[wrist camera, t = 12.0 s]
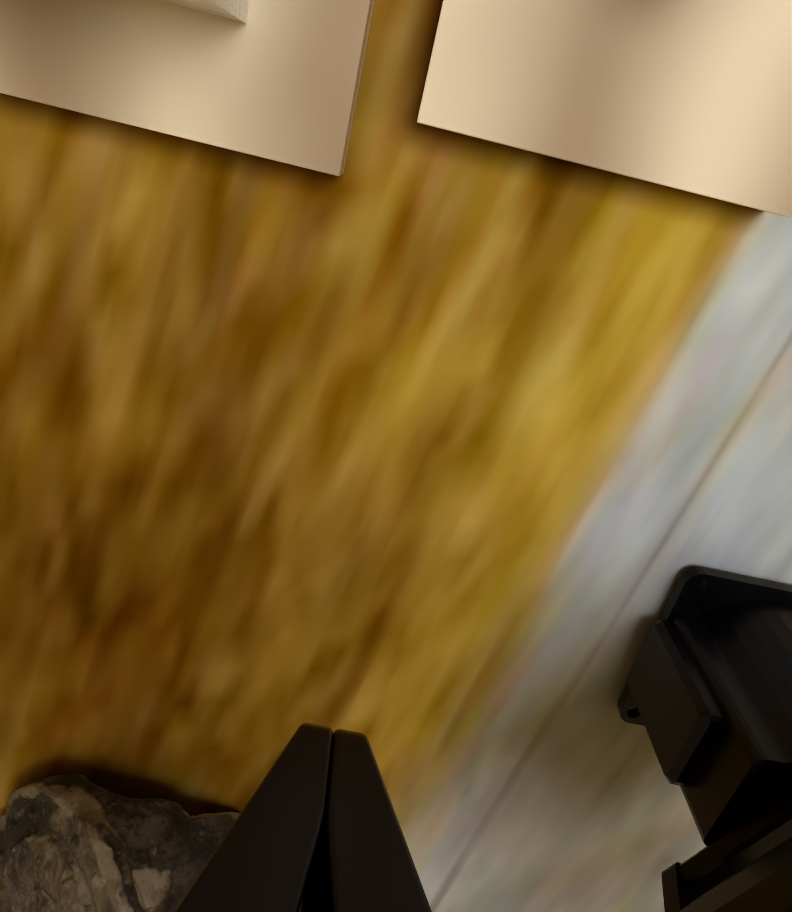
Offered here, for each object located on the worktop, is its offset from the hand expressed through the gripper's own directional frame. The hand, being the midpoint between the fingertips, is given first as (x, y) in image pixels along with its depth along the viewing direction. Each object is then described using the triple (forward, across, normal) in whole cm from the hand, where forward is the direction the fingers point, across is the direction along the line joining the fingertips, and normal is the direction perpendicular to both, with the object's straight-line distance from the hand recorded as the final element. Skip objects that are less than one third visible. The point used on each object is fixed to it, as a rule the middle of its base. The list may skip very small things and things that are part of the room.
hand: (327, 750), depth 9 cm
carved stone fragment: (+12, +6, +21) cm, 25 cm away
